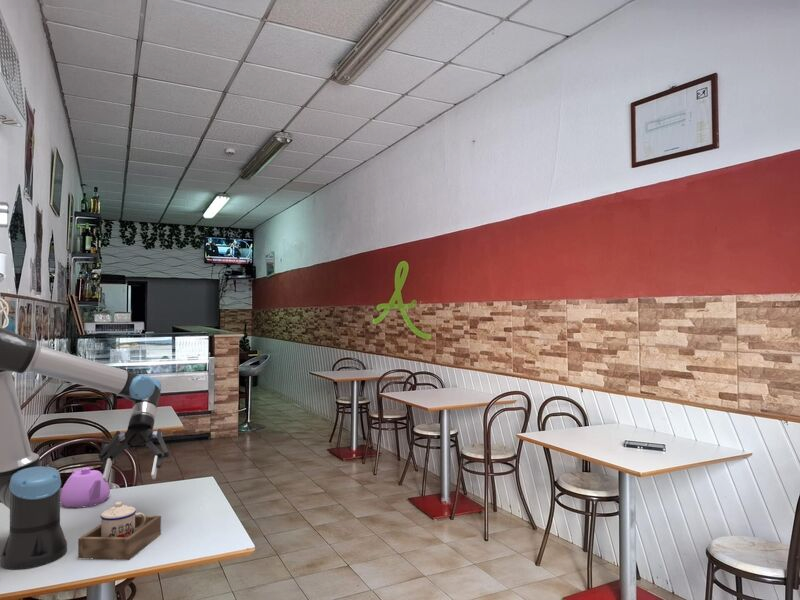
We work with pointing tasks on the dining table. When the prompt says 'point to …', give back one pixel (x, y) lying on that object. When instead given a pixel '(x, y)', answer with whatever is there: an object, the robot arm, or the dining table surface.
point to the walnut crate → (119, 541)
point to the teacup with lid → (120, 521)
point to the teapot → (84, 488)
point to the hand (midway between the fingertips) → (129, 478)
